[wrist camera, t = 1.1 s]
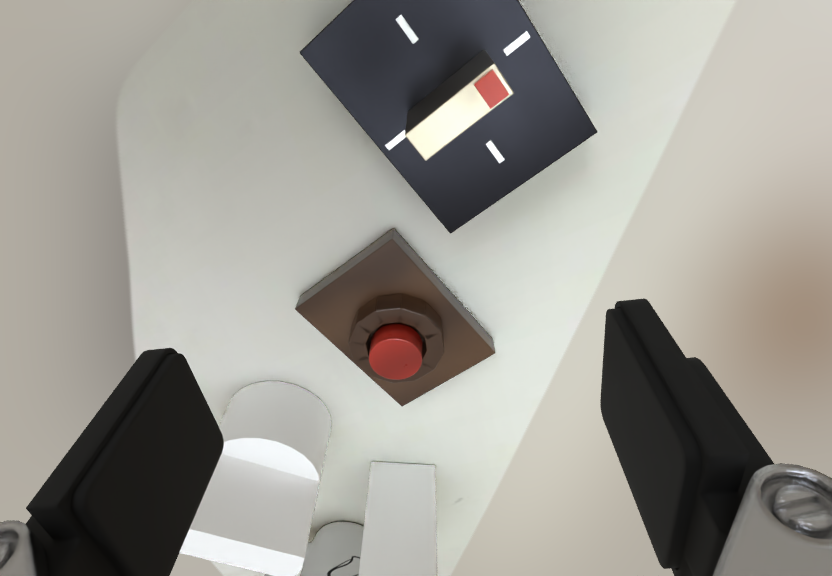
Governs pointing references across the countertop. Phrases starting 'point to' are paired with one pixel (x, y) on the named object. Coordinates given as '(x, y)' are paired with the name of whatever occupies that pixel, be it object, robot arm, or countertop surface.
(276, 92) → the countertop surface
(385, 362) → the timer button
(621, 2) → the countertop surface
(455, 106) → the knob
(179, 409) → the robot arm
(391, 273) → the brown button base
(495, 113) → the panel
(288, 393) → the cylinder with rectangular tab
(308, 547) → the mug
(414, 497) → the milk
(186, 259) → the countertop surface
